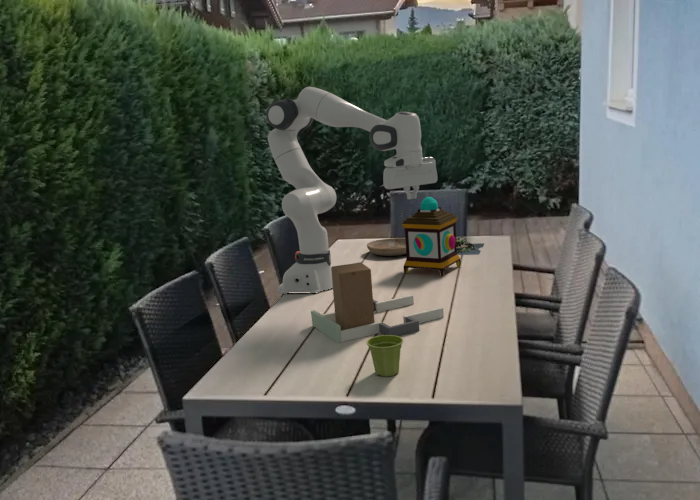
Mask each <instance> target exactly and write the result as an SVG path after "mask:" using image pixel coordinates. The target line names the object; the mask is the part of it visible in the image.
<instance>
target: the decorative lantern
mask: <svg viewBox="0 0 700 500" xmlns="http://www.w3.org/2000/svg"><path fill="white" fill-rule="evenodd" d="M458 218H459V216H457V215H456V214H454V213H453V212H448V211H446V210H444V209H443V208H442V207H439V204H438V201H437V200H436V199H435V198H433V197H432V196H425V198H423V200H422V201H421V202H420V208H419V209H417V211H416V212H414V214H413V215H411V216H408V217H406V219H404V220H403V222H402V223H401V225H402V227H403V229H404V235H405V236H404V237H405V240H406V254H405V255H406V260H405V262H404V265H403V273H404V274H408V273H409V269H420V270H421V269H423V270H434V271H435V270H436V271H438V272H439V274H440V277H444V276H445V275H444V274H445V269H447V268H448V267H451V266H452V265H455V264H456V267H458V268H459V267H460V266H461V263H462V262H461V257H460V255H458V254H457V248H456V237H457V231H456V229H457V228H456V226H457V225H456V224H457V220H458Z"/></svg>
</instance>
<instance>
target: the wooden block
mask: <svg viewBox="0 0 700 500" xmlns="http://www.w3.org/2000/svg"><path fill="white" fill-rule="evenodd" d="M331 272H332V284H333V288H332V294H333V304H334V306H333V307H334V312H335V319H336V322H335V323H337V324H338V325H340V327H341V331H342V330H346V329H351V328H355V327H359V326H363V325H368V324H372V323H376V322H375V312H374V307H373V300H374V296H373V294H374V293H373V283H372V282H373V281H372V280H373V279H372V270H371V268H369V267H368V266H367V265H366V264H364V263H363V262H355V263H348V264H341V265H335V266H334V265H333V266H331Z"/></svg>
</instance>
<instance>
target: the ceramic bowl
mask: <svg viewBox="0 0 700 500" xmlns="http://www.w3.org/2000/svg"><path fill="white" fill-rule="evenodd" d="M366 248H367V249H368V251H370V252H371V253H373V254H375V255H377V256H382V257H397V256H403V255H406V240H405V238H400V237H395V238H394V237H393V238H383V239H377V240H373V241H370V242H368V243H367V244H366Z"/></svg>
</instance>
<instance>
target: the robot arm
mask: <svg viewBox="0 0 700 500" xmlns="http://www.w3.org/2000/svg"><path fill="white" fill-rule="evenodd" d="M266 120H267V122H268V125H270V126H271V127H272V128H273V129H272V130H271V131H270V132H269V134H268V136H267V142H268V146H269V149H270V153H271V155H272V158H273V160H274V162H275V164H276V166H277V168H278V170H279V173H280V175H281V177H282V179H283V180H284V181H285V182H287V183H288V184H290V185H292V186H293V187H294V188H295V189H293V190H292V191H290V192H288V193H287V194H285V195H284V197H282V200H281V208H282V211H283V214H284V215H285V216H286V217H287V218H289V219H290V220H291V222H292V223H293V226H294V227H295V230H296V232H297V239H298V245H299V251H296V252H295V254H294V261H295V263H293V264H292V265H291V266H290V267H289V268H288V269H287V270H286V271H285V272H284V274H283V277H282V283H281V284H280V285H278V286H277V293H278V294H282V295H286V294H287V293H289V292H310V293H316V292H319V293H321V292H320V291H322V292H324V291H323V290H325V291H329V290H331V288H332V289H333V284H332V272H331V267H332V266H331V265H332V255H331V250H330V249H329V239H328V231H327V229H326V228H325V227H324V226H323V225H322V224H321V223H320V221H319V217H318V215H319V214H320V215H321V214H323V213H326V212H328V211H329V210H331V209H332V208H333V207H334V206H335V205H336V203H337V193H336V191H335V189H334V188H333V186H331V185H329V184H327V183H326V182H324V181H323V180H322V179H321V178H320V177H319V176H318V175H317V174H316V172H315V171H314V170H313V169H312V167H311V166H310V164H309V162H308V158H306V155H305V153H304V151H303V149H302V147H301V145H300V143H299V142H298V141H299V140H298V135H302V134H303V133H304V131H306V129H307V128H309V127H310V126H311V125H312V123H313V122H314V120H315V121H317V122H319V123H321V124H324V125H325V126H329V127H334V128H348V127H349V128H358V129H363V130H365V131H367V132H369V136H368V138H369V142H370V143H369V144H370V145H371V146H372V148H374V150H376V151H381V152H385V151H391V150H396V154H395V155H393V156H392V157H391V156H390V157H389V158H387V159H385V160H384V162H383V165H384V166H385V167H384V169H383V174H382V175H383V177H382V178H383V179H382V180H383V181H382V182H383V187H384V188H385V189H386V190H394V189H401V188H403V191H404V193H405V194H406V198H407V200H414V199H417V198H418V197H417V196H418V195H417V194H418V191H419V190H420V186H421V185H422V186H423V185H429V184H435V183H437V181H438V172H437V165H436V164H437V162H436V159H435V158H434V157H432V156H427V157H423V147H422V144H421V142H422V141H421V139H422V128H421V122H420V117H419V115H418V114H417V113H415V112H412V111H398V112H396V113H395V114H394V115H393V116H391V118H388V119H386V118H383V117H381V116H378V115H376V114H374V113H371V112H369V111H367V110H364V109H362V108H360V107H358V106H356V105H354V104H353V103H350V102H349V101H346V100H345V99H343V98H341V97H339V96H338V95H336V94H334V93H332V92H329V91H326V90H324V89H321V88H318V87H313V86H305V87H304V88H303V89H301V91H300V92H299V94H298V96H297V98H296V99H292V98H285V99H280V100H277V101H274V102H272V103H271V104H270V105H268V107H267V109H266ZM411 187H412V189H413V190H412V193H411V192H410V190H411ZM328 289H329V290H328ZM316 294H317V293H316ZM287 295H288V294H287Z"/></svg>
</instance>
